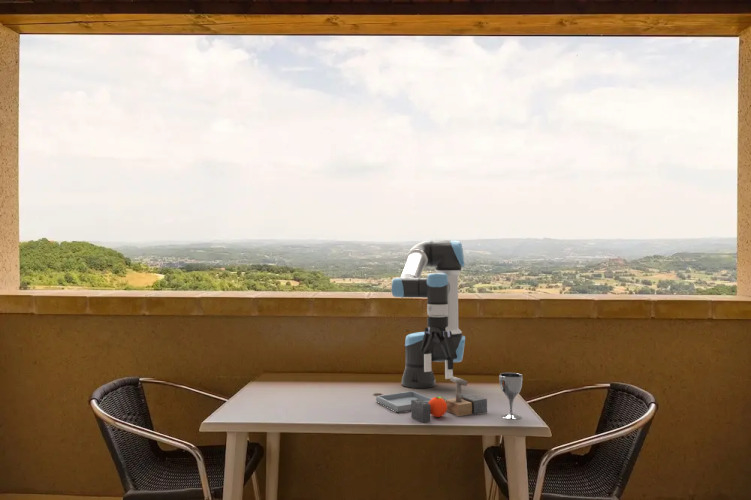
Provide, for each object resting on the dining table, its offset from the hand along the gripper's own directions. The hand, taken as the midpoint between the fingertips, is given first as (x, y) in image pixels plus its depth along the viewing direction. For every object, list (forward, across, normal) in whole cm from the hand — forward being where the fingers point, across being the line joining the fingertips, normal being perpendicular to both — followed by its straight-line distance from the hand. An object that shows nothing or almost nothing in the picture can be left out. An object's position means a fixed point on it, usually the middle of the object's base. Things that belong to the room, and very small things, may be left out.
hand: (438, 375), depth 196 cm
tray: (+15, -19, -2) cm, 24 cm away
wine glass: (+15, +13, +23) cm, 30 cm away
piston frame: (+15, 0, +5) cm, 16 cm away
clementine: (+15, 0, 0) cm, 15 cm away
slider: (+15, 0, +9) cm, 17 cm away
